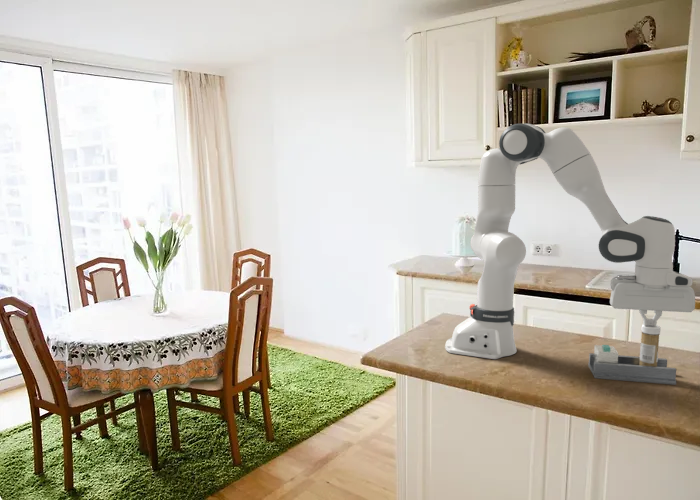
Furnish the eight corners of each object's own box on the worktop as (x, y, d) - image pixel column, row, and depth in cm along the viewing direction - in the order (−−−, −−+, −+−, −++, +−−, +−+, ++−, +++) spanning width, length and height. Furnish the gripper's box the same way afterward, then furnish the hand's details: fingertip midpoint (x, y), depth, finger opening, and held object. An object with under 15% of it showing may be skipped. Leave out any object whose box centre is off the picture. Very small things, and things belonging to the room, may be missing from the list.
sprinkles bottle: (660, 373, 145) (664, 326, 143) (650, 376, 143) (654, 328, 141) (644, 367, 149) (647, 322, 147) (634, 370, 147) (638, 324, 145)
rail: (594, 378, 145) (596, 351, 143) (588, 365, 154) (589, 339, 153) (676, 384, 139) (678, 356, 138) (664, 371, 149) (666, 344, 148)
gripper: (613, 277, 141) (610, 326, 143) (699, 280, 136) (695, 331, 138) (608, 272, 147) (605, 320, 149) (690, 275, 142) (686, 324, 144)
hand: (649, 325), depth 144 cm, fingers closed, pressing on sprinkles bottle
